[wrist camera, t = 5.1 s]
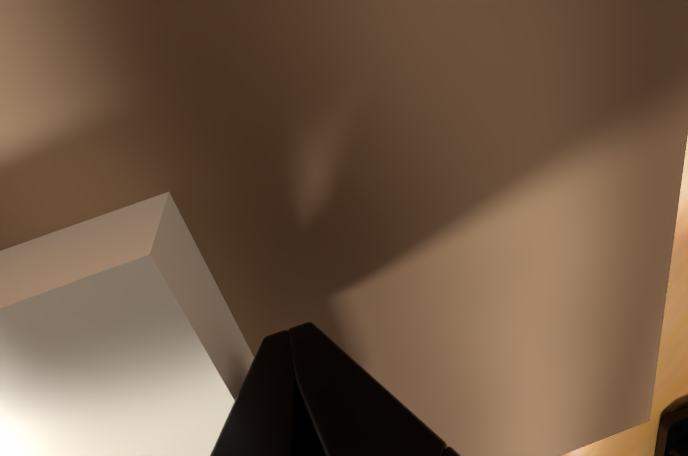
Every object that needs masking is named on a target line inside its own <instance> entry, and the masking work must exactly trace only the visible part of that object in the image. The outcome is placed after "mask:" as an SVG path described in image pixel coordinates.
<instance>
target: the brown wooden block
mask: <svg viewBox="0 0 688 456" xmlns="http://www.w3.org/2000/svg"><path fill="white" fill-rule="evenodd" d="M687 135H688V0H0V251H1V250H4V249H7V248H10V247H12V246H15V245H18V244H21V243H24V242H27V241H30V240H32V239H35V238H38V237H41V236H44V235H47V234H49V233H52V232H55V231H58V230H61V229H64V228H67V227H69V226H72V225H75V224H78V223H81V222H84V221H86V220H89V219H92V218H95V217H98V216H101V215H104V214H106V213H109V212H112V211H115V210H118V209H121V208H124V207H126V206H129V205H132V204H135V203H138V202H141V201H143V200H146V199H149V198H152V197H155V196H158V195H161V194H163V193H166V192H170V194H171V196H172V198H173V200H174V202H175V204H176V206H177V208H178V210H179V212H180V214H181V216H182V218H183V220H184V222H185V224H186V226H187V227H188V229H189V231H190V233H191V235H192V237H193V239H194V241H195V243H196V245H197V247H198V249H199V251H200V253H201V255H202V257H203V259H204V261H205V263H206V265H207V266H208V268H209V270H210V272H211V274H212V276H213V278H214V280H215V282H216V284H217V286H218V288H219V290H220V292H221V294H222V296H223V298H224V300H225V302H226V304H227V306H228V307H229V309H230V311H231V313H232V315H233V317H234V319H235V321H236V323H237V325H238V327H239V329H240V331H241V333H242V335H243V337H244V339H245V341H246V343H247V345H248V347H249V348H250V350H251V352H252V354H253V356H254V357H255V355H256V353H257V351H258V349H259V346H260V344H261V342H262V340H263V338H264V337H266V336H268V335H271V334H274V333H277V332H280V331H283V330H289V329H290V328H292V327H295V326H298V325H301V324H304V323H307V322H312V323H313V324H315V325H316V326H317V327H318V328H319V329H320V330H321V331H322V332H324V333H325V334H326V335H327V336H328V337H329V338H330V339H331V340H332V341H334V342H335V343H336V344H337V345H338V346H339V347H340V348H341V349H342V350H344V351H345V352H346V353H347V354H348V355H349V356H350V357H351V358H352V359H354V360H355V361H356V362H357V363H358V364H359V365H360V366H361V367H363V368H364V369H365V370H366V371H367V372H368V373H369V374H370V375H371V376H373V377H374V378H375V379H376V380H377V381H378V382H379V383H380V384H381V385H383V386H384V387H385V388H386V389H387V390H388V391H389V392H390V393H391V394H393V395H394V396H395V397H396V398H397V399H398V400H399V401H400V402H401V403H403V404H404V405H405V406H406V407H407V408H408V409H409V410H410V411H412V412H413V413H414V414H415V415H416V416H417V417H418V418H419V419H420V420H422V421H423V422H424V423H425V424H426V425H427V426H428V427H429V428H430V429H432V430H433V431H434V432H435V433H436V434H437V435H438V436H439V437H440V438H442V439H443V440H444V441H445V442H446V444H447V447H448V446H450V447H452V448H453V449H454V450H455V451H456V452H458V453H459V454H460V455H461V456H561V455H563V454H566V453H568V452H571V451H573V450H576V449H578V448H581V447H584V446H586V445H589V444H591V443H594V442H596V441H599V440H601V439H604V438H607V437H609V436H612V435H614V434H617V433H619V432H622V431H624V430H627V429H629V428H632V427H635V426H637V425H640V424H642V423H645V422H647V421H650V414H651V406H652V399H653V391H654V383H655V376H656V368H657V361H658V353H659V346H660V338H661V331H662V323H663V316H664V308H665V300H666V293H667V285H668V278H669V270H670V263H671V255H672V248H673V240H674V233H675V225H676V218H677V210H678V202H679V195H680V187H681V180H682V172H683V165H684V157H685V150H686V142H687Z"/></svg>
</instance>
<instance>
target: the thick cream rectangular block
mask: <svg viewBox="0 0 688 456" xmlns="http://www.w3.org/2000/svg"><path fill="white" fill-rule="evenodd" d="M253 360H254V356H253V354H252V352H251V350H250V348H249V347H248V345H247V343H246V341H245V339H244V337H243V335H242V333H241V331H240V329H239V327H238V325H237V323H236V321H235V319H234V317H233V315H232V313H231V311H230V309H229V307H228V306H227V304H226V302H225V300H224V298H223V296H222V294H221V292H220V290H219V288H218V286H217V284H216V282H215V280H214V278H213V276H212V274H211V272H210V270H209V268H208V266H207V265H206V263H205V261H204V259H203V257H202V255H201V253H200V251H199V249H198V247H197V245H196V243H195V241H194V239H193V237H192V235H191V233H190V231H189V229H188V227H187V226H186V224H185V222H184V220H183V218H182V216H181V214H180V212H179V210H178V208H177V206H176V204H175V202H174V200H173V198H172V196H171V194H170V192H166V193H163V194H161V195H158V196H155V197H152V198H149V199H146V200H143V201H141V202H138V203H135V204H132V205H129V206H126V207H124V208H121V209H118V210H115V211H112V212H109V213H106V214H104V215H101V216H98V217H95V218H92V219H89V220H86V221H84V222H81V223H78V224H75V225H72V226H69V227H67V228H64V229H61V230H58V231H55V232H52V233H49V234H47V235H44V236H41V237H38V238H35V239H32V240H30V241H27V242H24V243H21V244H18V245H15V246H12V247H10V248H7V249H4V250H1V251H0V456H210V454H211V452H212V450H213V448H214V446H215V443H216V441H217V439H218V437H219V435H220V432H221V430H222V428H223V426H224V424H225V421H226V419H227V417H228V415H229V413H230V410H231V408H232V406H233V404H234V402H235V399H236V397H237V395H238V393H239V390H240V388H241V386H242V384H243V382H244V379H245V377H246V375H247V373H248V371H249V368H250V366H251V364H252V362H253Z"/></svg>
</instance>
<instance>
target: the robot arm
mask: <svg viewBox="0 0 688 456" xmlns="http://www.w3.org/2000/svg"><path fill="white" fill-rule="evenodd" d="M210 456H461V455H460V454H459V453H458V452H456V451H455V450H454V449H453V448H452V447H450V446H448V447H447V444H446V442H445V441H444V440H443V439H442V438H440V437H439V436H438V435H437V434H436V433H435V432H434V431H433V430H432V429H430V428H429V427H428V426H427V425H426V424H425V423H424V422H423V421H422V420H420V419H419V418H418V417H417V416H416V415H415V414H414V413H413V412H412V411H410V410H409V409H408V408H407V407H406V406H405V405H404V404H403V403H401V402H400V401H399V400H398V399H397V398H396V397H395V396H394V395H393V394H391V393H390V392H389V391H388V390H387V389H386V388H385V387H384V386H383V385H381V384H380V383H379V382H378V381H377V380H376V379H375V378H374V377H373V376H371V375H370V374H369V373H368V372H367V371H366V370H365V369H364V368H363V367H361V366H360V365H359V364H358V363H357V362H356V361H355V360H354V359H352V358H351V357H350V356H349V355H348V354H347V353H346V352H345V351H344V350H342V349H341V348H340V347H339V346H338V345H337V344H336V343H335V342H334V341H332V340H331V339H330V338H329V337H328V336H327V335H326V334H325V333H324V332H322V331H321V330H320V329H319V328H318V327H317V326H316V325H315V324H313V323H312V322H307V323H304V324H301V325H298V326H295V327H292V328H290V329H289V330H283V331H280V332H277V333H274V334H271V335H268V336H266V337H264V338H263V340H262V342H261V344H260V346H259V349H258V351H257V353H256V355H255V357H254V360H253V362H252V364H251V366H250V368H249V371H248V373H247V375H246V377H245V379H244V382H243V384H242V386H241V388H240V390H239V393H238V395H237V397H236V399H235V402H234V404H233V406H232V408H231V410H230V413H229V415H228V417H227V419H226V421H225V424H224V426H223V428H222V430H221V432H220V435H219V437H218V439H217V441H216V443H215V446H214V448H213V450H212V452H211V454H210ZM655 456H688V406H687V407H685V408H682V409H680V410H677V411H675V412H672V413H670V414H668V415H667V416H665V417H664V418H663V419H662V421H661V423H660V426H659V433H658V440H657V447H656V453H655Z"/></svg>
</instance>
